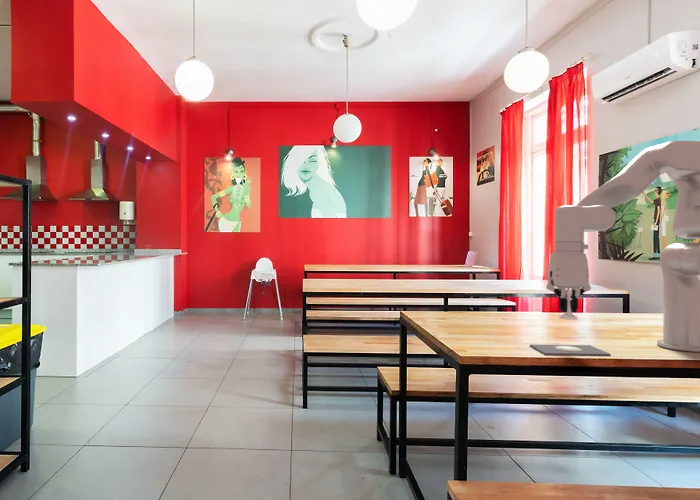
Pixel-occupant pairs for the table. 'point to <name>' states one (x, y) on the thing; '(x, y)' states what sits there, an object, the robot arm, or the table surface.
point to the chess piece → (568, 307)
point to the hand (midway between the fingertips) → (568, 311)
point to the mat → (569, 350)
